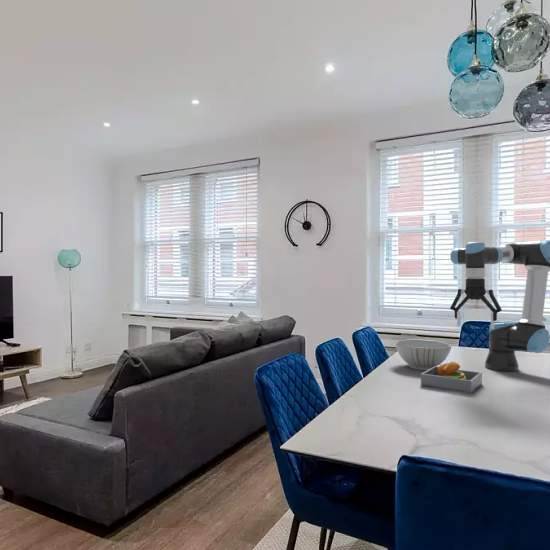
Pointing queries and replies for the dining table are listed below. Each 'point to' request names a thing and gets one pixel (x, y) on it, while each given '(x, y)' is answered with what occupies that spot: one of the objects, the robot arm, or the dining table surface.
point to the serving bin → (452, 381)
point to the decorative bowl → (423, 353)
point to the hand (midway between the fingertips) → (475, 327)
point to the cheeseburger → (451, 371)
